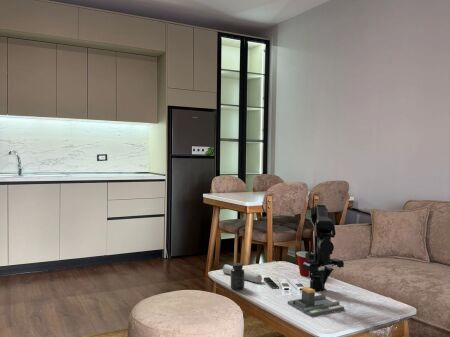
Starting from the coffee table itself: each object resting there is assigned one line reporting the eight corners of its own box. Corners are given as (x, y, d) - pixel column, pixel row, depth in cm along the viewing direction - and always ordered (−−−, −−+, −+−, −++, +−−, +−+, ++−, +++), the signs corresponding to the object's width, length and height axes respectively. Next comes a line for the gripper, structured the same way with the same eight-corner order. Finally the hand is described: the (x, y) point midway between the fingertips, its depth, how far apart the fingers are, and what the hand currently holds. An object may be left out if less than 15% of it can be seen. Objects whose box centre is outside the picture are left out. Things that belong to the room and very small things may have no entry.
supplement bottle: (229, 286, 205) (230, 262, 205) (243, 285, 206) (243, 262, 206) (231, 290, 199) (231, 266, 198) (245, 290, 199) (245, 265, 199)
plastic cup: (311, 279, 219) (312, 256, 218) (292, 276, 224) (293, 254, 224) (318, 274, 228) (319, 252, 228) (300, 271, 234) (300, 250, 233)
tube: (264, 274, 213) (230, 264, 231) (258, 273, 209) (223, 263, 227) (262, 285, 212) (227, 274, 230) (256, 284, 208) (221, 273, 226)
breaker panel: (319, 298, 190) (319, 291, 190) (344, 309, 176) (344, 302, 176) (287, 303, 182) (287, 297, 182) (310, 316, 168) (310, 309, 167)
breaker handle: (307, 302, 180) (307, 286, 180) (314, 306, 175) (314, 289, 175) (301, 303, 178) (301, 287, 178) (308, 307, 174) (309, 290, 174)
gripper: (328, 243, 191) (327, 276, 191) (295, 246, 183) (294, 281, 183) (345, 248, 181) (344, 283, 181) (311, 252, 173) (310, 289, 173)
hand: (323, 284), depth 180 cm, fingers closed
